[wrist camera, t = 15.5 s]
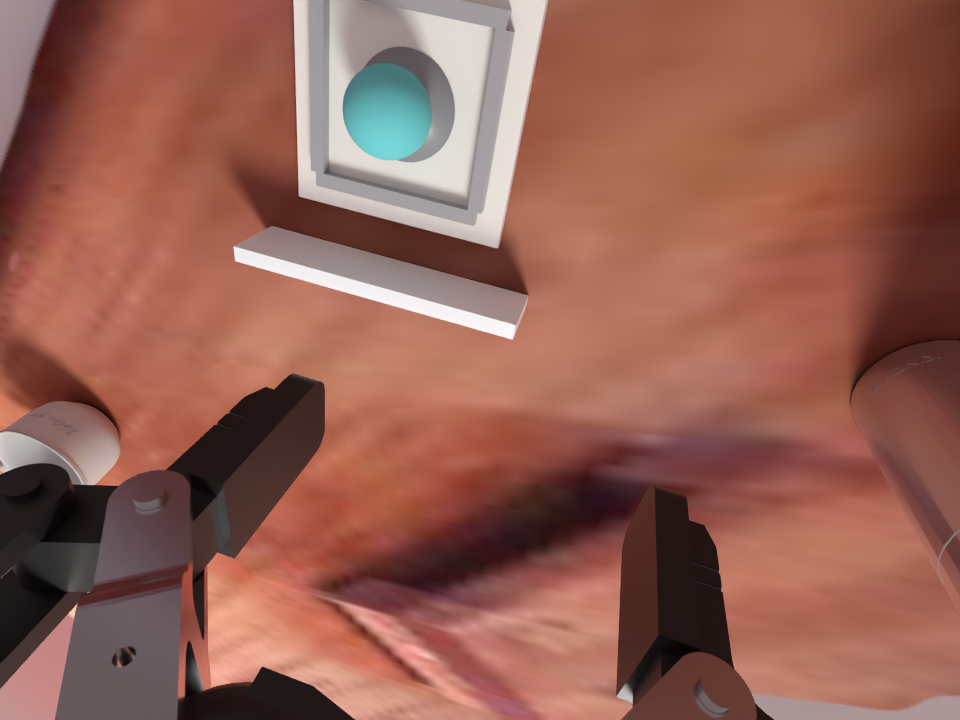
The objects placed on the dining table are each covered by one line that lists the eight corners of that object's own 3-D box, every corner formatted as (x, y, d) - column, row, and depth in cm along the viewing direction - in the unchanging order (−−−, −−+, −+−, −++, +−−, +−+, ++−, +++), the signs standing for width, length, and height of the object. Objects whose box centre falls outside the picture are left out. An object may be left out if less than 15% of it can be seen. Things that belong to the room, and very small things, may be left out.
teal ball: (460, 103, 34) (430, 116, 30) (414, 167, 37) (380, 188, 33) (394, 39, 33) (354, 43, 29) (352, 110, 36) (310, 124, 32)
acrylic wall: (528, 295, 41) (516, 325, 37) (525, 308, 42) (512, 339, 38) (272, 225, 44) (233, 246, 40) (272, 239, 44) (235, 261, 40)
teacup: (110, 391, 61) (46, 435, 54) (150, 463, 66) (96, 511, 60) (22, 384, 65) (-48, 425, 58) (66, 453, 70) (7, 497, 64)
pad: (551, -14, 31) (547, -16, 29) (499, 244, 40) (495, 252, 38) (298, -64, 33) (284, -68, 31) (304, 193, 42) (293, 199, 40)
